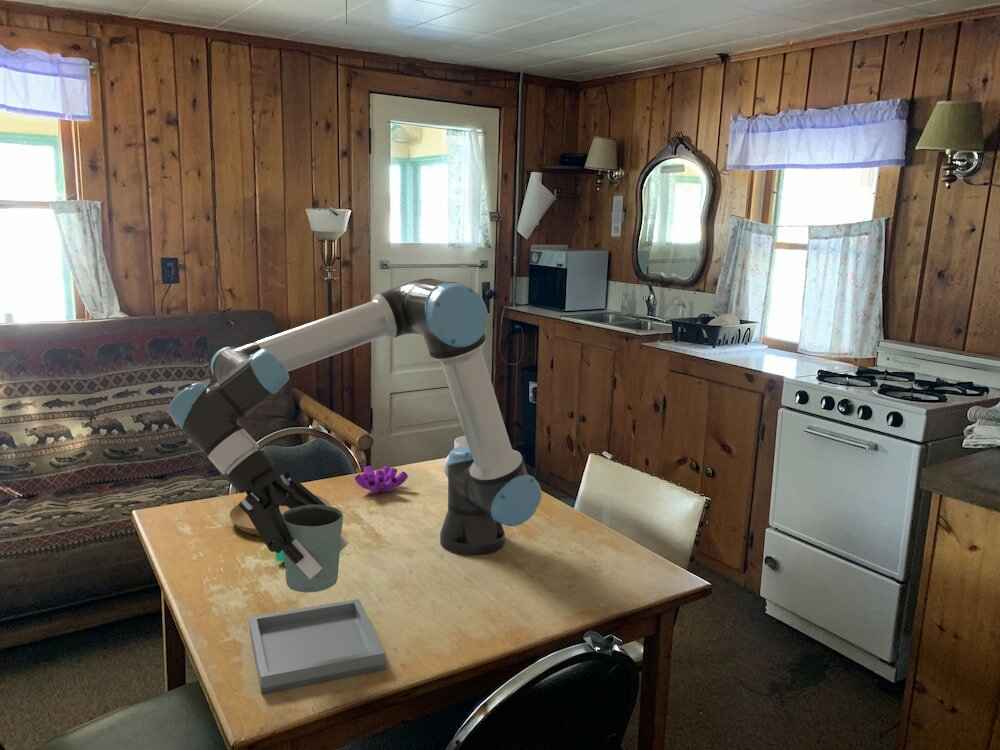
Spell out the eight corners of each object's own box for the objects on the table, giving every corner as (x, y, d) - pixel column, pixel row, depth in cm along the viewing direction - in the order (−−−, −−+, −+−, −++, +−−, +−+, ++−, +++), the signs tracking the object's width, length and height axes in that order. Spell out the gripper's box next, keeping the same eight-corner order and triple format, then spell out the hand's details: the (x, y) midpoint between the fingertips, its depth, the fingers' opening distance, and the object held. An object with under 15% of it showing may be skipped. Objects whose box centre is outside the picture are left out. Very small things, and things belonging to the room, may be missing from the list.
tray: (359, 613, 149) (359, 598, 149) (385, 669, 131) (385, 653, 131) (249, 632, 142) (249, 616, 141) (261, 694, 124) (260, 677, 123)
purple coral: (395, 494, 222) (414, 471, 219) (375, 513, 208) (395, 488, 205) (365, 468, 223) (384, 444, 220) (343, 485, 208) (363, 460, 206)
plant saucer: (266, 550, 177) (265, 536, 176) (210, 522, 192) (209, 509, 191) (351, 521, 195) (350, 508, 194) (293, 497, 210) (293, 485, 209)
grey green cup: (279, 573, 136) (277, 508, 134) (337, 564, 140) (336, 501, 138) (288, 599, 127) (286, 529, 125) (349, 589, 131) (348, 521, 129)
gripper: (263, 457, 144) (343, 547, 144) (189, 497, 123) (283, 603, 123) (288, 431, 142) (370, 523, 142) (218, 468, 121) (314, 576, 121)
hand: (330, 560), depth 132 cm, fingers closed on grey green cup, 10 cm apart
